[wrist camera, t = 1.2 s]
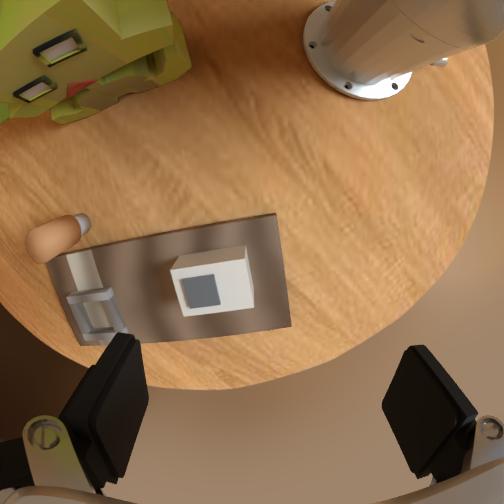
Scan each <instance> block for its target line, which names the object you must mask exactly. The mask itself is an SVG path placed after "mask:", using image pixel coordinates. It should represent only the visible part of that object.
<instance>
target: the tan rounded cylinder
mask: <svg viewBox="0 0 504 504" xmlns="http://www.w3.org/2000/svg"><path fill="white" fill-rule="evenodd" d="M90 227H91V222H90V219H89V217H88V216H87V215H85V214H83V213H81V214H78V215H76V216H72V215H65V216H62V217H60V218H57V219H55V220H53V221H50V222H48V223H46V224H44V225H41V226H39V227H37V228H35V229H32V230H30V231H29V232H28V234H27V236H26V241H25V244H26V250H27V252H28V255H29V256H30V258H31V259H32V260H33V261H34V262H35V263H37V264H44V263H46V262H48V261H49V260H51V259H52V258H54V257H55V256H57V255H59V254H60V253H62V252H63V251H65V250H67V249H68V248H70V247H72V246H73V245H75V244H76V243H78V242H79V240H80V238H81V235H83V234H85V233H87V232H88V231H89V230H90Z"/></svg>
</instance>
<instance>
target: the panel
mask: <svg viewBox="0 0 504 504" xmlns="http://www.w3.org/2000/svg"><path fill="white" fill-rule="evenodd" d="M242 245H246V249H247V255H248V260H249V266H250V271H251V277H252V282H253V288H254V308H248V309H241V310H234V311H226V312H219V313H211V314H203V315H194V316H186V317H184V316H183V313H182V310H181V307H180V303H179V300H178V297H177V293H176V290H175V286H174V283H173V279H172V276H171V272H170V269H171V268H172V266H173V265H174V263H175V262H176V260H177V259H178V257H179V256H181V255H187V254H193V253H199V252H205V251H211V250H218V249H224V248H230V247H236V246H242ZM46 264H47V267H48V270H49V273H50V276H51V279H52V281H53V284H54V287H55V289H56V292H57V295H58V297H59V300H60V302H61V305H62V307H63V309H64V312H65V314H66V316H67V319H68V321H69V323H70V325H71V328H72V330H73V332H74V334H75V336H76V338H77V340H78V342H79V344H80V346H89V345H101V346H106V345H109V343H110V342H111V340H112V339H113V337H114V336H115V334H116V333H117V332H121V333H128V334H133V335H134V336H135V339H138V340H139V341H140V344H141V343H156V342H170V341H182V340H192V339H202V338H212V337H221V336H229V335H237V334H245V333H252V332H259V331H266V330H273V329H279V328H286V327H292V326H291V318H290V310H289V302H288V294H287V286H286V279H285V271H284V264H283V256H282V249H281V242H280V235H279V228H278V222H277V215H276V213H272V214H266V215H260V216H254V217H247V218H241V219H235V220H230V221H224V222H218V223H212V224H207V225H201V226H195V227H190V228H184V229H179V230H174V231H168V232H163V233H158V234H153V235H148V236H143V237H138V238H133V239H128V240H123V241H118V242H113V243H108V244H104V245H99V246H94V247H90V248H85V249H80V250H76V251H71V252H67V253H63V254H59V255H57V256H55V257H54V258H52V259H51V260H49V261H48V262H46Z"/></svg>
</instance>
